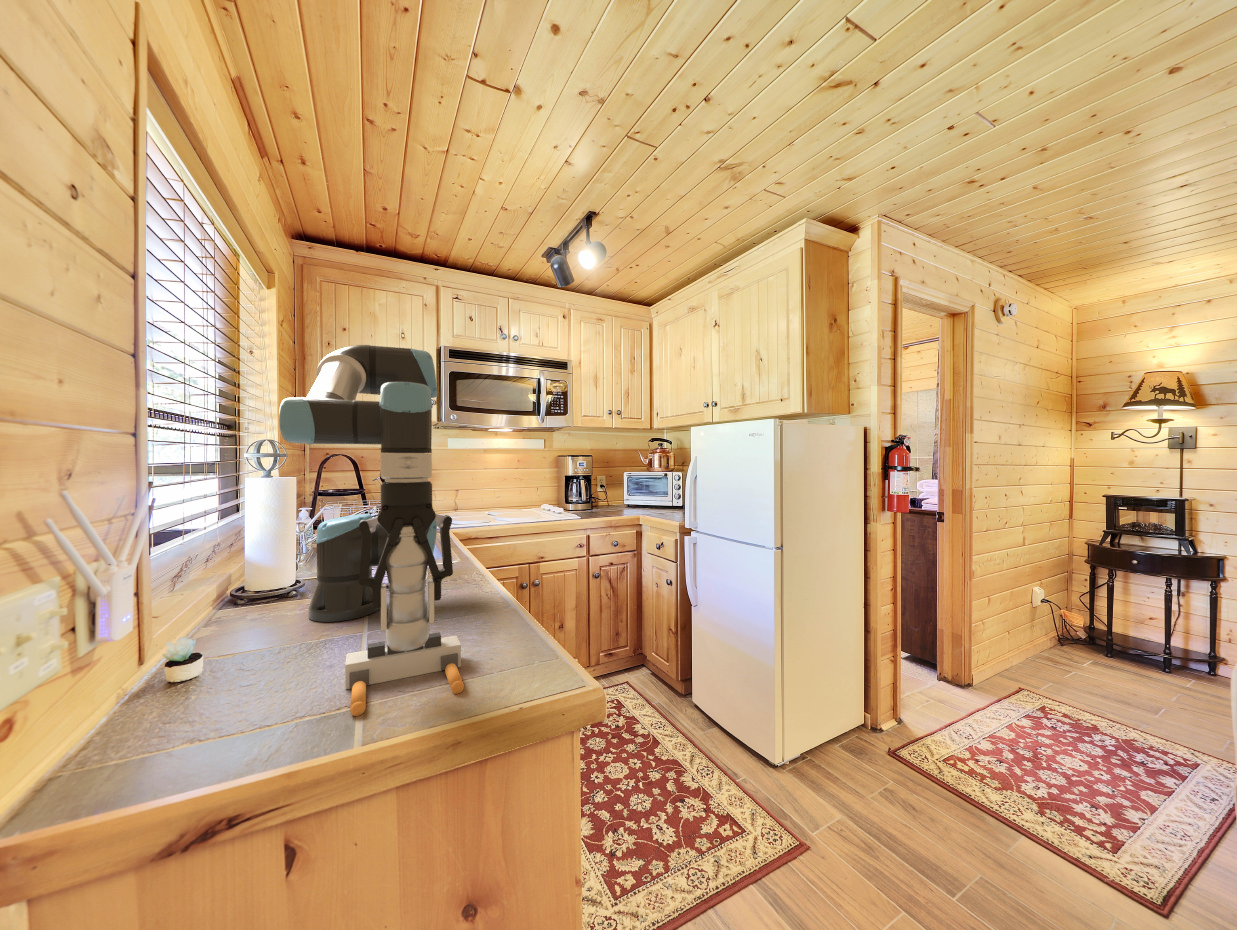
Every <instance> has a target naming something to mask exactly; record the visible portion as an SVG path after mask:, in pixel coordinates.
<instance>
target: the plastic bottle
mask: <svg viewBox="0 0 1237 930" xmlns="http://www.w3.org/2000/svg"><path fill="white" fill-rule="evenodd" d="M416 536H417V533H416V530H415V528H414V525H406V526H402V528H401V530H400V533H399V536H398V540H397V542H396V545H395V546H394V547H393V548H392V549H391V551H390V552H389V554H388V556H387V559H386V565H387V570H386V577H387V583H388V592H389V593H388V596H389V597H388V598H389V599H388V600H389V604H388V612H387V613H388V614H387V616H388V617H387V630H385V635H384V637H385V643H386V646H387V645H388V647H389V648H390V649H391V650H393V651H409V650H414V649H417V648H419V647H421V646H423V645H424V644H425V643H426V641H427V640H428V638H429V634H430V630H431V628H430V624H429V621H428V609H427V601H426V586H427V583H426V582H427V573H428V572H427V571H428V567H429V566H428V563H427V557H428V556H427V554H426V551H425V550H424V548H423V547H422V546H421V544H420V541H419V539H416Z"/></svg>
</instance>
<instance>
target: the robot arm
mask: <svg viewBox="0 0 1237 930" xmlns="http://www.w3.org/2000/svg"><path fill="white" fill-rule="evenodd" d="M437 385H438V383H437V375H436V370H435V364H434V359H433V357H432V355H431V353H429V352H428V351H427V350H422V349H415V348H412V347H411V348H410V347H409V348H407V347H395V346H394V347H392V346H379V345H370V344H356V345H350V346H346V347H343V348H339V349H337V350H334V351H332V352H331V353H328V354H327V355H326V356H324V357H323V358H322V360H321V361H320V362H319V363H318V365H317V368H316V380H315V382H314V383H313V385H312V387H311V388H310V391H309V392H308V394H307V396H306V397H304V396H299V397H287V398H286V397H285V398H284V399H282V401H281V402H280V406H279V413H278V414H279V415H278V421H279V432H280V436H281V437H282V438H283V440H284V441H285V442H288V443H289V444H291V443H292V444H306V445H308V446H310V445H380V453H379V455H380V458H379V459H380V478H381V479H383V480H384V481H383V482H382V483H381V484H380V511H379V513H378V514H377V516H375V517H373V516H372V514H370V513H359V514H350V515H346V516H345V515H344V516H340V517H336V518H331V519H328V520H325V521H322V522H320V523H319V525H318V526H317V529H316V540H315V544H316V586H315V588H314V591H313V594H312V595H311V596H312V597H311V599H310V602H309V606H308V611H307V612H308V615H307V616H308V619H309V620H311V621H313V622H321V623H322V622H323V623H329V622H330V623H331V622H343V621H348V620H353V619H359V618H363V617H366V616H369V615H371V614H374V613H376V612H377V611H379V610H380V630H381V632H382V631H386V630H387V622H388V617H387V616H388V614H387V613H388V612H387V609H388V608H387V603H388V602H387V601H388V600H387V584H386V583H385V584H383V581H384V579H385V575H386V574H387V572H386V570H387V565H386V559H387V556H388V554H389V552H390V551H391V549H392V548H393V547H394V546H395V545H396V542H397V540H398V536H399V533H400V530H401V528H402V526H406V525H414V528H415V530H416V533H417V536H416V539H419V541H420V544H421V546H422V547H423V548H424V550H425V551H426V554H427V556H428V557H427V563H428V566H427V567H428V569H429V571H430V574H431V577H432V578H429V579H426V582H427V583H426V586H427V617H428V621H429V625H430V624H435V601H440V600H441V598H442V581H443V580H444V579H446V578H447V577H452V575H453V574H454V570H453V557H452V549H451V548H452V545H451V534H450V533H451V532H450V530H451V528H452V523H453V518H452V516H450V515H449V514H445V515H444V514H443V515H442V514H437V513H436V512H435V510H434V508H433V483H432V481H430V480H429V479H431V478H432V477H433V458H432V457H433V456H432V455H433V454H432V453H433V450H432V440H433V439H432V438H433V437H432V436H433V435H432V434H433V432H432V431H433V426H432V425H433V423H432V420H433V416H432V415H433V414H432V411H433V406H434V405H433V402H432V399H435V398H437V397H438V388H437ZM358 394H362V395H363V394H365V395H375V396H376V395H377V396H379V398H380V399H379V401H376V400H374V401H373V400H356V399H357V395H358ZM437 528H438V529H439V534H440V536H439V537H440V547H441V548H440V549H441V559H442V568H441V569H439V566H438V564H437V561H436V558H435V556H434V551H435V548H436V547H435V546H436V541H437V533H438V529H437ZM373 567H377V568H376V571H375V573H374V575H373V571H372V570H373Z"/></svg>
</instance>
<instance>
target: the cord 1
mask: <svg viewBox="0 0 1237 930" xmlns="http://www.w3.org/2000/svg"><path fill="white" fill-rule="evenodd" d="M366 697H367V685H366V684H365V682H363V681H358V682H356V683H355V684H354V685H353V687H352V688H351V696H350V706H349V709H350V710H349V712H350V714H351V715H352V716H353V717H358V716H361V715H363V714H364V712H365V710H366V705H367V703H366V702H367V698H366Z"/></svg>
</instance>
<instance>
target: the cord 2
mask: <svg viewBox="0 0 1237 930" xmlns="http://www.w3.org/2000/svg"><path fill="white" fill-rule="evenodd" d="M444 673H445V676H446V679H447V681H448V685H449V688H450V690H451V693H452V694H454V695H459V694H461V693H462V692H463V691H464V687H465V684H464V682H463V679H462V676H461V674H460V672H459V669H458V667H457V666H456V665H455V664H453V663H451V664H448V665H447V666H446V668H445V670H444Z"/></svg>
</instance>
